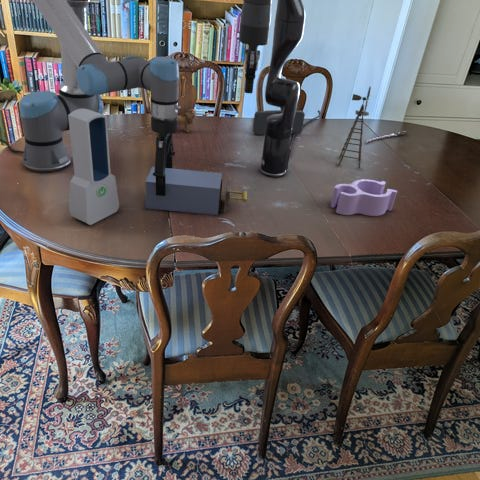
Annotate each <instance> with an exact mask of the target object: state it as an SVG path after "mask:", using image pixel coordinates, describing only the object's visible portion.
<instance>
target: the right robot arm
mask: <svg viewBox="0 0 480 480" xmlns="http://www.w3.org/2000/svg"><path fill="white" fill-rule="evenodd" d="M276 2H277V3H276V10H275V17H274V25H273V35H272V36H273V38H272V46H271V47H272V48H271V54H270V55H271V56H270V61H269V68H268V72H267V78H266V84H265V91H264V98H265V100H264V101H265V103H266V104H267V105H269V106H273V107H276V108H280V109H282V110H283V113H281V114H275V115H271V116H269V117H268V118H267V121H266V129H265V135H264V138H263V146H262V155H261V157H260V168H259V172H260V173H261V174H263V175H264V176H266V177H271V178H280V177H284V176H285V175H286V173H287V172H288V167H289V163H290V162H289V161H290V155H291V153H292V146H293V142H294V139H295V137H296V136H297V134H296V132H295V133H294V134H292V127H293V122H294V118H295V113H296V110H297V109H298V102H299V99H300V94H301V93H300V92H301V89H300V88H301V86H300V83H299V82H298V81H296V80H292V79H287V78H282V77H281V76H282V71H283V67H284V65H285V64H286V62H287V60H288V58H289V57H290V56H291V54H292V53H293V52H294V51H295V50H296V48H297V47H298V46H299V45H300V42H301V41H302V39H303V36H304V32H305V31H304V30H305V24H306V10H305V9H306V8H305V7H304V4H303V1H302V0H277V1H276ZM272 5H273V0H243V2H242V7H241V12H240V24H239V34H238V35H239V36H238V40H239V42H240V43H242V44H244V45H248V49H247V48H245V49H244V58H243V59H244V72H245V73H244V79H245V81H244V93H245V94H253V93H254V92H253V91H254V84H255V83H254V82H255V79H256V77H257V76H256V72H258V68H259V61H260V59H261V50H258V48H259V46H266V45H268V43H269V38H270V30H271V21H272ZM317 113H318V115H316V116H314V117H313V118H312V119H310V120H309V121H306V122H305V123H303V128H304V127H305V126H307V125H308V124H310V123H311V122H313V121H315V120H317V119H318V118H319V117H321V110H320V109H318V110H317Z"/></svg>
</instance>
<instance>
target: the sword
mask: <svg viewBox="0 0 480 480" xmlns="http://www.w3.org/2000/svg"><path fill="white" fill-rule="evenodd" d="M404 134H406V133H402V134H400V132H393V133H390V134H387V135H381V136H378V137H374V138H370V139H368V140H366V141H365V144H368V143H370V142H374V141H378V140H381V139H386V138H390V137H394V136H395V137H398V136H399V135H404Z"/></svg>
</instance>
